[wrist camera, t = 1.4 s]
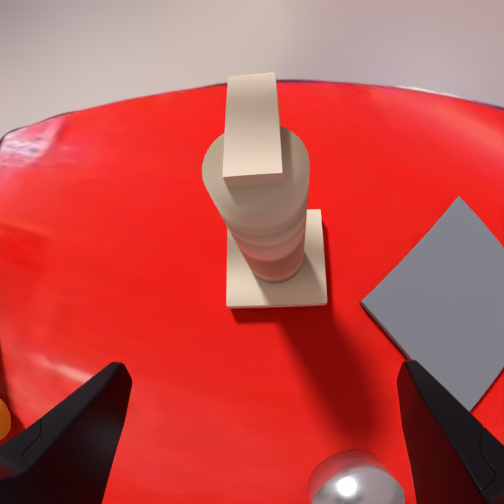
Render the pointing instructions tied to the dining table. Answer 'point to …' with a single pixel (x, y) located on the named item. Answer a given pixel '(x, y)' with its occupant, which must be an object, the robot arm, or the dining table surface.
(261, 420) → the dining table surface
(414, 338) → the mat
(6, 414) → the lemon
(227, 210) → the beige stacked pedestal
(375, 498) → the steel tin
